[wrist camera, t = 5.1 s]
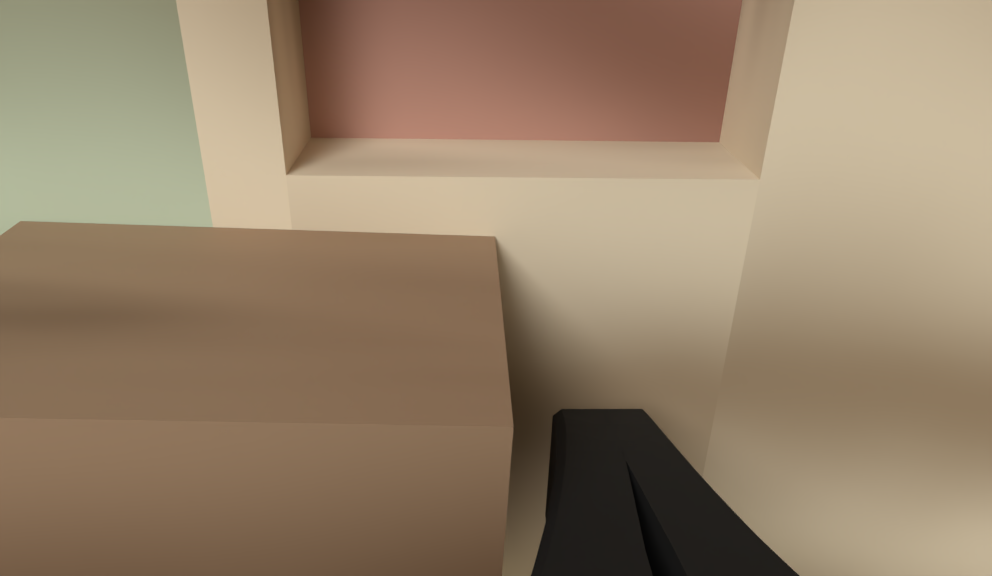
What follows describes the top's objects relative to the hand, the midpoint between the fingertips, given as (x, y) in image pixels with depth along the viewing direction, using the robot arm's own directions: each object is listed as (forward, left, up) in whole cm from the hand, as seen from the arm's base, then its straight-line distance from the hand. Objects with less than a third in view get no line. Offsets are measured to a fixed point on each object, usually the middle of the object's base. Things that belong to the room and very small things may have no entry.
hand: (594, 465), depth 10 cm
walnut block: (0, +4, -1) cm, 5 cm away
